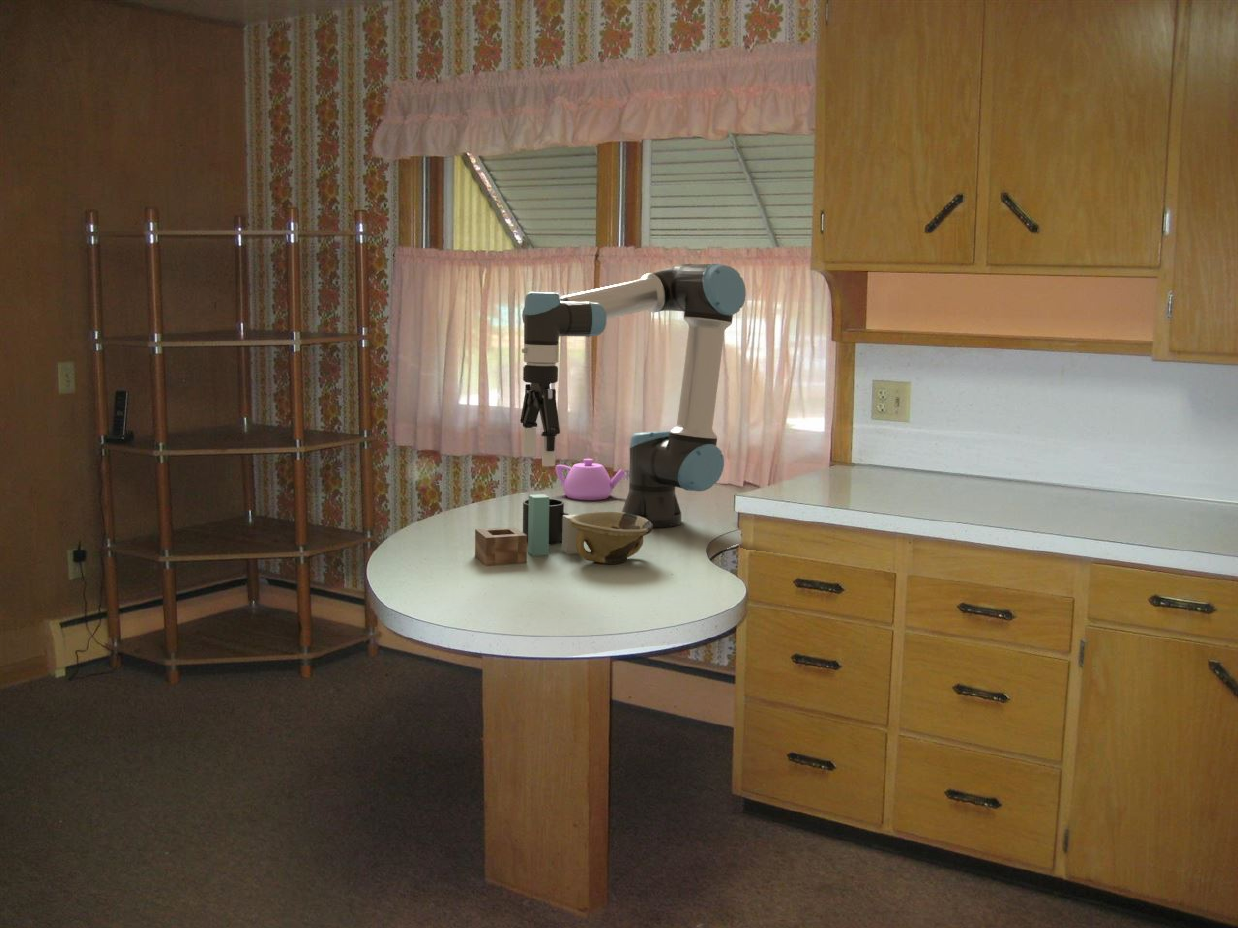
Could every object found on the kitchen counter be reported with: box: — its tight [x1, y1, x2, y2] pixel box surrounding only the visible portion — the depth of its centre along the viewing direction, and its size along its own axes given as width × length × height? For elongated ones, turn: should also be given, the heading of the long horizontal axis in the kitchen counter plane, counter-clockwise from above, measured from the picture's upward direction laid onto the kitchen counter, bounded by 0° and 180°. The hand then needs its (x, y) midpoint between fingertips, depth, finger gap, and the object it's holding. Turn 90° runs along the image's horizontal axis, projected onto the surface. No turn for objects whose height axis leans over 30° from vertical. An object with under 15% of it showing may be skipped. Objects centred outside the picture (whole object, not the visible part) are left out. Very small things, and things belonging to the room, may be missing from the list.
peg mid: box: [561, 514, 579, 555], centre depth 270 cm, size 4×4×8 cm
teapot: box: [555, 458, 627, 501], centre depth 336 cm, size 14×20×11 cm
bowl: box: [570, 511, 653, 565], centre depth 261 cm, size 18×18×10 cm
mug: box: [522, 498, 570, 545], centre depth 280 cm, size 9×12×9 cm
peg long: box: [527, 493, 550, 557], centre depth 266 cm, size 4×4×13 cm
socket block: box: [474, 526, 528, 566], centre depth 261 cm, size 9×9×6 cm
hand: (538, 461), depth 264 cm, fingers open, 13 cm apart
